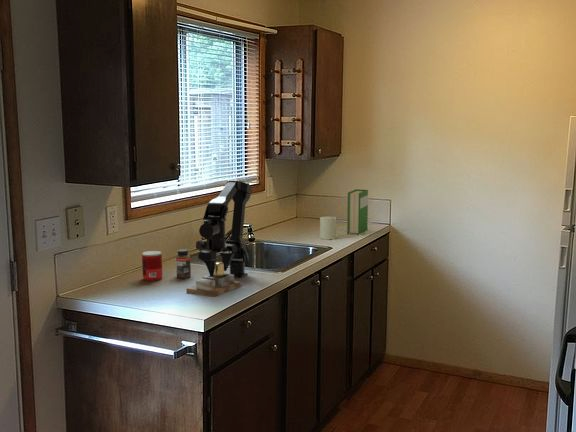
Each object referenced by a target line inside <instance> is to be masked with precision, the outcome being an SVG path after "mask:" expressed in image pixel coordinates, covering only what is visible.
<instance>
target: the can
mask: <svg viewBox="0 0 576 432" xmlns="http://www.w3.org/2000/svg"><path fill="white" fill-rule="evenodd" d="M320 238H322V239H321V240H324V239H333V240H335V238H336V239H337V217H336V216H328V215H327V216H320V217H319V239H320Z"/></svg>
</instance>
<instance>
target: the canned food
mask: <svg viewBox="0 0 576 432" xmlns="http://www.w3.org/2000/svg"><path fill="white" fill-rule="evenodd" d="M141 263H142V265H141V266H142V267H141V268H142V278H143V281H146V282H155V281H160V280H162V278H163V255H162V251H158V250H148V251H143V252H142V254H141Z"/></svg>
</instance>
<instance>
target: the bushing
mask: <svg viewBox="0 0 576 432" xmlns="http://www.w3.org/2000/svg"><path fill="white" fill-rule="evenodd" d="M224 273H225V271H224V263H223V261H216V265H215V270H214V274H213V277H214V278H223V277H224Z"/></svg>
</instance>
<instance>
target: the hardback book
mask: <svg viewBox="0 0 576 432" xmlns="http://www.w3.org/2000/svg"><path fill="white" fill-rule="evenodd" d="M368 202H369V190H368V189H358V188H357V189H353V190H350V191H349V192H347V218H346V220H347V222H346V223H347V224H346V225H347V227H346V228H347V230H346V231H347V233H346V235H350V234H355V235H356V234H361V233H362V234H363V232H364V233H365V232H367V231H368V216H369V215H368V212H369V206H368V205H369V203H368ZM366 230H367V231H366ZM349 233H350V234H349ZM362 234H361V235H362Z"/></svg>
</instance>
